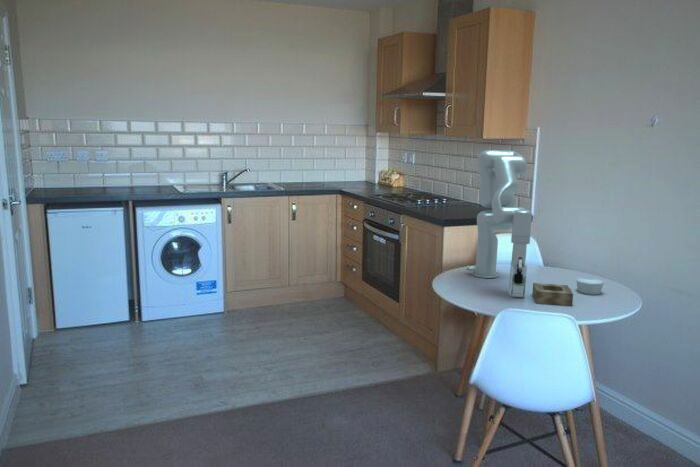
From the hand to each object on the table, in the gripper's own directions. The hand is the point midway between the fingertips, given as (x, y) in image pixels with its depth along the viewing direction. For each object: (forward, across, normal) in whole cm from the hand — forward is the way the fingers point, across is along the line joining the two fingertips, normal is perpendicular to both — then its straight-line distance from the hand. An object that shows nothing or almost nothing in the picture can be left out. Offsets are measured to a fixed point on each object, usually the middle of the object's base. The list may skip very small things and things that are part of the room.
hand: (517, 280), depth 247 cm
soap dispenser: (+7, 0, 0) cm, 7 cm away
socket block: (+7, +2, +14) cm, 16 cm away
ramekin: (+7, -16, +32) cm, 36 cm away
